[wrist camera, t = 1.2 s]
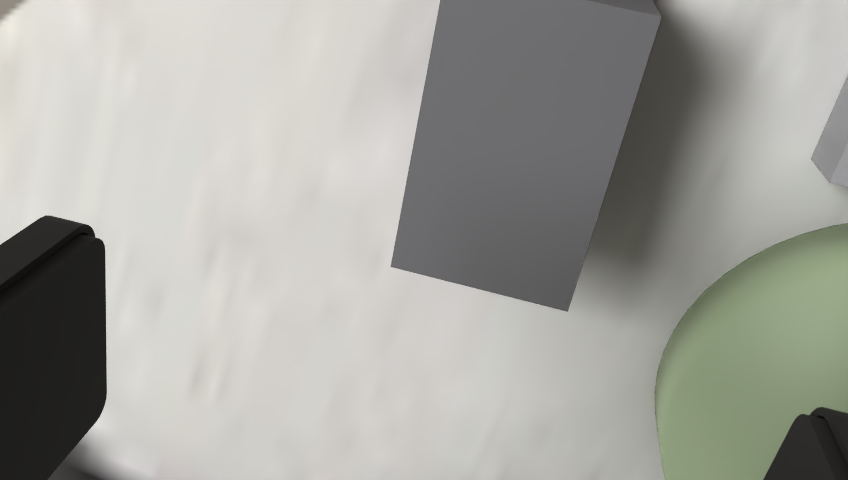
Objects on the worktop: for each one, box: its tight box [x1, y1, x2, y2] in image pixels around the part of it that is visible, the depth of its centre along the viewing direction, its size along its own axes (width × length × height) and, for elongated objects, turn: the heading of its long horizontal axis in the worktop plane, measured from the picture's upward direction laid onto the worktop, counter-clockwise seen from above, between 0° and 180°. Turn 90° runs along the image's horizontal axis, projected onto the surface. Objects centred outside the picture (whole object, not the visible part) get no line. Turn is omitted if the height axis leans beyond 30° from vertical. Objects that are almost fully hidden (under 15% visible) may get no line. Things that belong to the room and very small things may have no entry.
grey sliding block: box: [391, 0, 662, 311], centre depth 22 cm, size 6×10×6 cm, turn 170°
